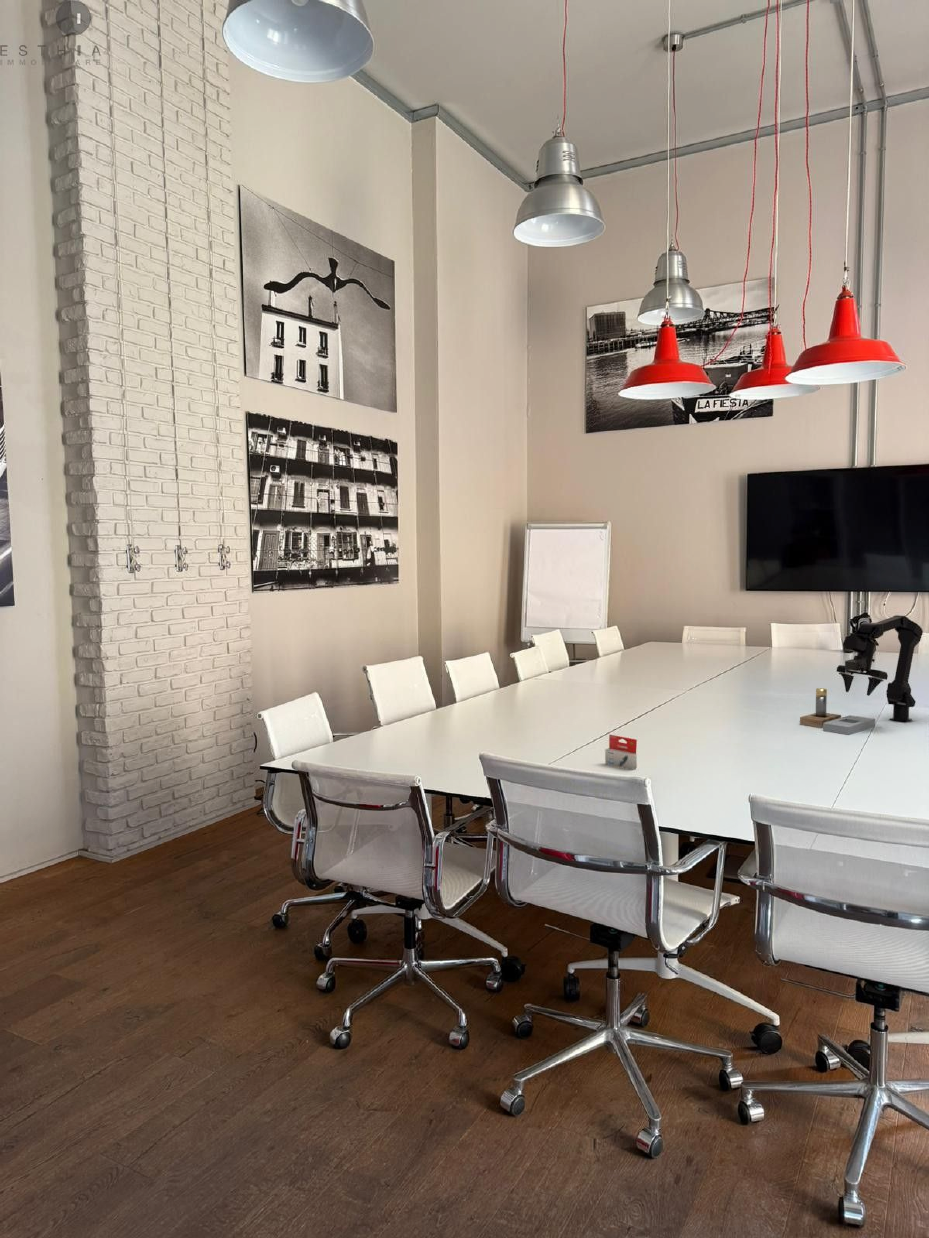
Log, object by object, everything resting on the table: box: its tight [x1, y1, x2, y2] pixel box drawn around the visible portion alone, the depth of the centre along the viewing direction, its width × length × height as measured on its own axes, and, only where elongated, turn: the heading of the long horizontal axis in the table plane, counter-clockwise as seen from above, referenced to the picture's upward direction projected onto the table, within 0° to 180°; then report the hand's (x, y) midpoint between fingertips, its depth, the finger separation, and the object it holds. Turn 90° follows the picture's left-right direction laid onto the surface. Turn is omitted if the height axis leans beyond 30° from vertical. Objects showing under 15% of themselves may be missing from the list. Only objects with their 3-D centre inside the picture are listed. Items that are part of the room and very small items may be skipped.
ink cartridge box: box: [604, 734, 638, 771], centre depth 269 cm, size 2×11×10 cm, turn 44°
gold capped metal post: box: [815, 687, 828, 718], centre depth 330 cm, size 4×4×14 cm
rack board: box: [822, 714, 876, 736], centre depth 321 cm, size 22×10×3 cm, turn 130°
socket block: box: [799, 712, 842, 729], centre depth 330 cm, size 16×9×3 cm, turn 130°
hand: (857, 693), depth 320 cm, fingers open, 9 cm apart
